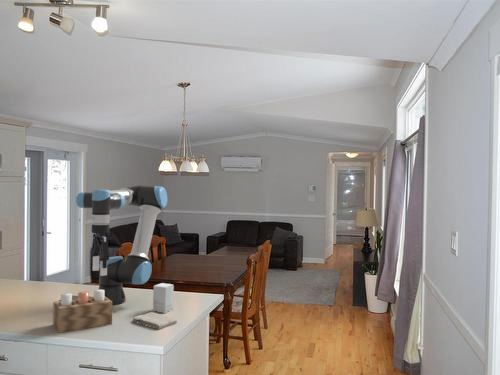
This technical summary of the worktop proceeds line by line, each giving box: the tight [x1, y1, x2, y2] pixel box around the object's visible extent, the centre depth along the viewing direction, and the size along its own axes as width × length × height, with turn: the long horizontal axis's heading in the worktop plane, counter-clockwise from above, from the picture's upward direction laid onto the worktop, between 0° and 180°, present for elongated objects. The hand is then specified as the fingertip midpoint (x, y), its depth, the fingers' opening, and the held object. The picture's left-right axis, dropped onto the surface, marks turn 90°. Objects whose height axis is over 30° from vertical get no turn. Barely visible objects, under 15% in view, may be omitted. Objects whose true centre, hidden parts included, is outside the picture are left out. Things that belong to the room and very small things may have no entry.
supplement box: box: [152, 282, 175, 314], centre depth 224 cm, size 7×7×13 cm
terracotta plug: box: [77, 290, 90, 304], centre depth 200 cm, size 4×4×9 cm
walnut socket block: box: [52, 296, 113, 333], centre depth 200 cm, size 22×12×10 cm, turn 125°
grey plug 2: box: [93, 289, 105, 302], centre depth 204 cm, size 4×4×9 cm
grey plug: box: [60, 292, 73, 306], centre depth 196 cm, size 4×4×9 cm
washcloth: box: [132, 311, 178, 330], centre depth 205 cm, size 12×18×3 cm, turn 56°
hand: (99, 272), depth 203 cm, fingers open, 11 cm apart
